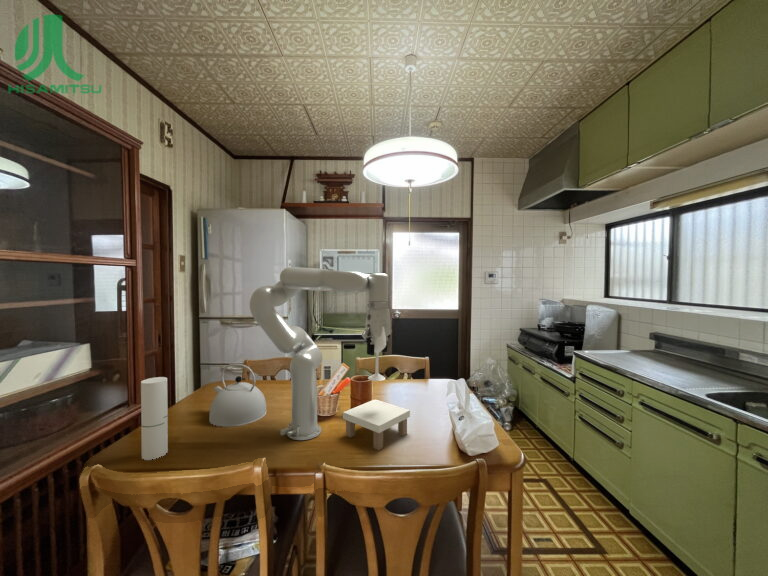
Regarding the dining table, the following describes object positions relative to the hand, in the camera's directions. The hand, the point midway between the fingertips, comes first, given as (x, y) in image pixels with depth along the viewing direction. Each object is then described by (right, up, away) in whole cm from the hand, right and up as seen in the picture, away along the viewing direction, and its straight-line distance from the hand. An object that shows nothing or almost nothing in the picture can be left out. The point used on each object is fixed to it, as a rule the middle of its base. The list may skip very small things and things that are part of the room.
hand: (377, 352), depth 122 cm
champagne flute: (0, -10, 0) cm, 10 cm away
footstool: (0, -31, +1) cm, 31 cm away
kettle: (-62, -31, +19) cm, 72 cm away
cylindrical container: (-74, -32, -14) cm, 82 cm away
